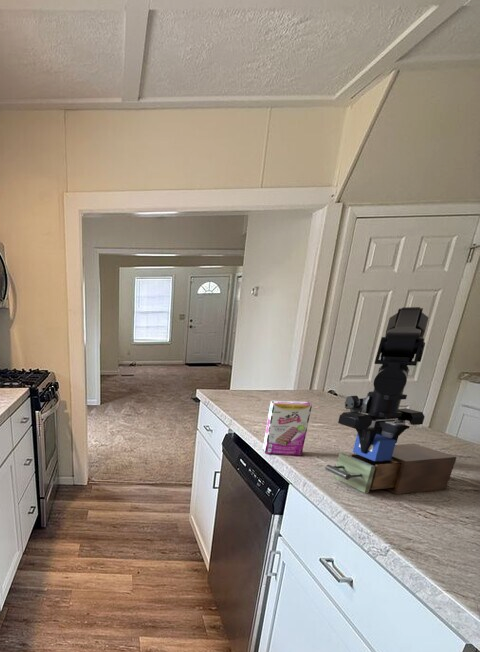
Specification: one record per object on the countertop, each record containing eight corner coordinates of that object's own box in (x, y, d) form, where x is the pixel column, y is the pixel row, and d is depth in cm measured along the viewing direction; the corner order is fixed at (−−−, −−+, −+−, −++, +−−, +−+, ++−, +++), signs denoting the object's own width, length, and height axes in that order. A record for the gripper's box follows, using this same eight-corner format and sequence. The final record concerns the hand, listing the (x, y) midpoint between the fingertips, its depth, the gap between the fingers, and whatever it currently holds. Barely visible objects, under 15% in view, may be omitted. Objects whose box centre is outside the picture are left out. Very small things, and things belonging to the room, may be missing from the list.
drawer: (347, 494, 96) (353, 468, 94) (317, 478, 106) (322, 454, 103) (412, 488, 99) (420, 462, 97) (377, 473, 109) (384, 449, 106)
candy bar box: (265, 454, 128) (272, 403, 121) (262, 449, 132) (269, 400, 126) (302, 456, 125) (312, 404, 119) (298, 451, 130) (308, 400, 124)
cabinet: (395, 494, 98) (405, 461, 95) (359, 477, 109) (366, 447, 106) (445, 489, 101) (457, 456, 97) (405, 472, 111) (413, 443, 108)
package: (352, 452, 103) (357, 433, 101) (367, 451, 103) (372, 432, 102) (374, 461, 96) (380, 441, 94) (390, 460, 97) (396, 440, 95)
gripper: (393, 382, 102) (378, 440, 108) (328, 385, 99) (316, 445, 105) (435, 389, 92) (415, 453, 98) (364, 393, 89) (348, 459, 95)
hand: (372, 452), depth 99 cm, fingers closed on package, 4 cm apart
